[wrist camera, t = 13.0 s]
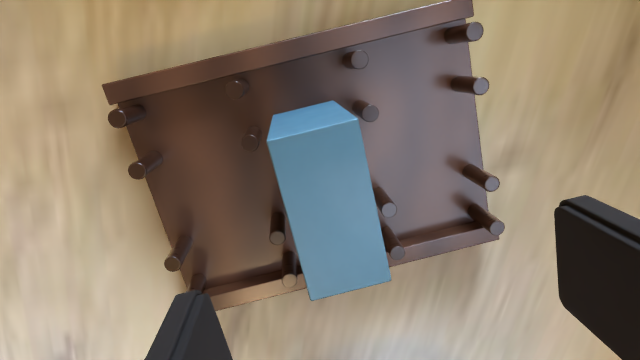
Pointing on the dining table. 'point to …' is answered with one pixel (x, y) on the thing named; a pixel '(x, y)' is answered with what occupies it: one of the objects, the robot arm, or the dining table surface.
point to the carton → (328, 198)
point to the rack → (298, 92)
